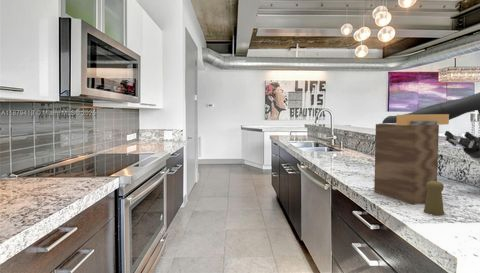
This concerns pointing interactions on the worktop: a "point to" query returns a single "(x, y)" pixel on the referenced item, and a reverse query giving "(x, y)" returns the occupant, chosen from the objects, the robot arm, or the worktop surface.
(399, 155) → the walnut stand
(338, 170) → the worktop surface
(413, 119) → the wooden bar
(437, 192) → the cork
